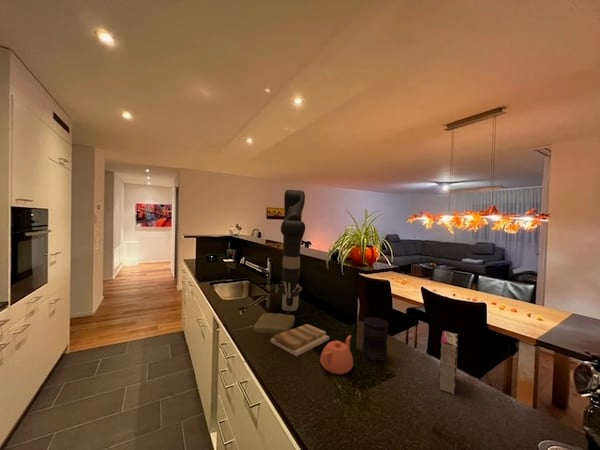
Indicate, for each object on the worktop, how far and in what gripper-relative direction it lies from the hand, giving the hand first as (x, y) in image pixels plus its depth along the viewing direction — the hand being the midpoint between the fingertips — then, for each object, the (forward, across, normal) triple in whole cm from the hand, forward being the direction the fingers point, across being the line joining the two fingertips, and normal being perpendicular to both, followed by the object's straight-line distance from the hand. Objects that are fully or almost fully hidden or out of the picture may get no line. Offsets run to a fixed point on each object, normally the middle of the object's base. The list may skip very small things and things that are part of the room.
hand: (289, 305), depth 112 cm
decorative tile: (+18, +18, -10) cm, 28 cm away
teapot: (+17, -25, -3) cm, 30 cm away
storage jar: (+17, -32, -19) cm, 41 cm away
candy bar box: (+17, -58, -22) cm, 64 cm away
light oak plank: (+16, -2, -14) cm, 22 cm away
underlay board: (+17, -2, -7) cm, 19 cm away
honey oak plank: (+15, -2, -3) cm, 16 cm away
